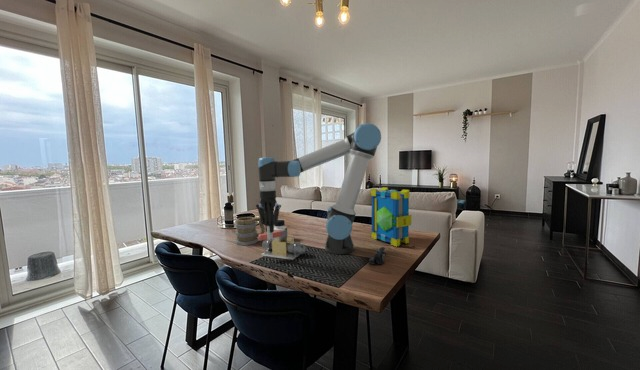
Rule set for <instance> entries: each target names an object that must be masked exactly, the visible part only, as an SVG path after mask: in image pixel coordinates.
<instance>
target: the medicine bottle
mask: <svg viewBox="0 0 640 370" xmlns="http://www.w3.org/2000/svg"><path fill="white" fill-rule="evenodd" d="M281 229H286V230H287V231H288V227H287V226H286V225H285V220H284V219H281V218H278V221H277V224H275V225H274V231H279V230H281ZM277 238H279V237H276V238H272V240H275V239H277Z"/></svg>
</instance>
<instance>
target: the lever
mask: <svg viewBox="0 0 640 370" xmlns="http://www.w3.org/2000/svg"><path fill="white" fill-rule="evenodd" d="M276 237H279V240H286V239H287V238H288V229H287V230H286V229H281V230H279V231H274V232H273V238H276ZM264 240H266V241H268V240H267V232H266V233H265V232H264V234H259V237H258V242H259V241H260V242H263V241H264Z"/></svg>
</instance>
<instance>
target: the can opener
mask: <svg viewBox="0 0 640 370" xmlns="http://www.w3.org/2000/svg"><path fill="white" fill-rule="evenodd" d="M385 249H386V247H384V246H383V247H379V248H378V249H377V251H376V253H375V255H374V256H372V257H370V258H369V259H368V262H369V264H370V265H376V264H378V265H383V264H385V257H386V255H387V254H386V252H385Z"/></svg>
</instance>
